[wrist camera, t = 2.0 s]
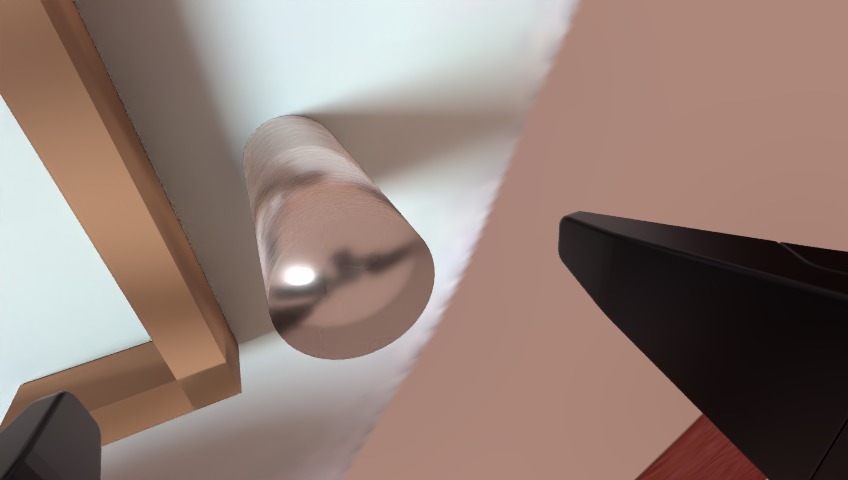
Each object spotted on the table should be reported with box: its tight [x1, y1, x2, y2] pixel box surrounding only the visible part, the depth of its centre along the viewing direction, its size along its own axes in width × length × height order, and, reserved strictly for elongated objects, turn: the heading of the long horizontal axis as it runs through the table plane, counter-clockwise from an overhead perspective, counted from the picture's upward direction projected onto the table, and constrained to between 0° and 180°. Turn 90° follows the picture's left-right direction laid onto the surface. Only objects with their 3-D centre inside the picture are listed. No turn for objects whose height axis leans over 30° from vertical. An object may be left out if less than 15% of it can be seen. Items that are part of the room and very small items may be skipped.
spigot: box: [243, 115, 435, 360], centre depth 12 cm, size 3×3×8 cm
